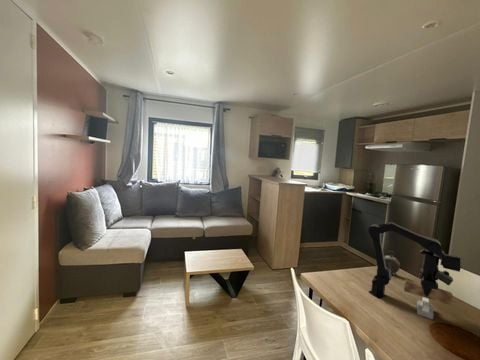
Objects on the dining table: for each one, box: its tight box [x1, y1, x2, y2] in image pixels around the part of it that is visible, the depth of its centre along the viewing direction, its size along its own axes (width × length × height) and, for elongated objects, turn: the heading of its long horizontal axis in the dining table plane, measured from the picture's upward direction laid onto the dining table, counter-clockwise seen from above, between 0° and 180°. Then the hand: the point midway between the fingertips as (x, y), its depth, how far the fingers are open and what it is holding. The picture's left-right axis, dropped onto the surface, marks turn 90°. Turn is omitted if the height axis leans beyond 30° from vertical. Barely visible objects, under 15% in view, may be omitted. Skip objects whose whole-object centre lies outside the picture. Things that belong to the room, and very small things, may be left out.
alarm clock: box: [384, 250, 401, 276], centre depth 151 cm, size 11×5×16 cm, turn 46°
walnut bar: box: [403, 278, 454, 306], centre depth 112 cm, size 18×4×5 cm, turn 56°
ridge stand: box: [416, 297, 435, 320], centre depth 112 cm, size 6×10×5 cm, turn 141°
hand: (426, 294), depth 112 cm, fingers closed on walnut bar, 4 cm apart
